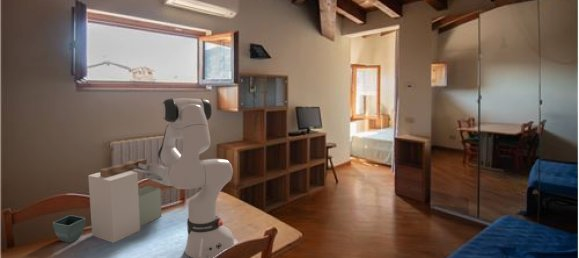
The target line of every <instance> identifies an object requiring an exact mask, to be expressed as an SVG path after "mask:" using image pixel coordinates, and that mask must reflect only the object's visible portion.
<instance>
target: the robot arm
mask: <svg viewBox="0 0 579 258" xmlns="http://www.w3.org/2000/svg"><path fill="white" fill-rule="evenodd" d="M160 110H161V115H162V118H163V120H164V121H166V122H168V124H167V125H166V126H165V131H164V133H163V134H164V135H163V138H162V143H161V146H160V148H159V150H158V152H157V157H158V158H159V160H160V161H161V162H162V163H163V164H160V163H158V162H156V161H155V162H150V164H149V163H147V164H145V165H144V164H141V163H137V167H140V168H137V169H133V170H132V171H135V172H138V173H139V172H140V173H144V175H145V177H146V179H147V180H150V181H153V182H155V183H159V184H161V185H164V186H172V188H174V189H177V190H178V189H179V190H190V189H198V188H200V190H199V191H198V192H197V193H195V194H194V195H192V196H191V197H190V198H189V200H188V204H187V206H188V208H187V209H188V211H187V212H188V213H187V215H188V218H187V220H186V222H187V223H186V231H187V240H186V245H185V249H184V253H185V254H186V256H188V257H190V258H213V257H215V256H216V255H217V254H219V253H220V252H222V251H223V250H225V249H227V248H229V247H231V246H232V245H234V244H236V243H239V241H238V240H237V238H235V237H234V235H233V232H232V231H231V229H229V227H227V226H225V225H224V223H223V221H222V219H221V217H220V216H219V215H218V214H217V215H216V213H217V212H216V211H217V209H216V208H217V200H218V197H219V195H220V193H221V191H222V189H223V188H224V187H225V186H226V185H227V184H228V183H229V182H230V181H231V180H232V178H233V174H234V168H233V165H232V164H231V162H230V161H229V160H228V159H223V158H209V159H200V155H201V154H203V153H204V152H206V151H207V150H208V149H209V148H210V146H211V144H212V141H211V135H210V129H209V128H210V127H209V123H208V121H209V120H210V119H211V118H212V113H213V108H212V104H211V101H210V100H208V99H205V98H191V97H189V98H187V97H181V98H177V97H176V98H167V99H164V101H163V102H162V105H161V109H160ZM176 140H182V150H181V151H182V152H181V153H180V151H179V150H178V149H177V147H176V145H175V142H176ZM130 161H131V160H129V161H128V162H130Z"/></svg>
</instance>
